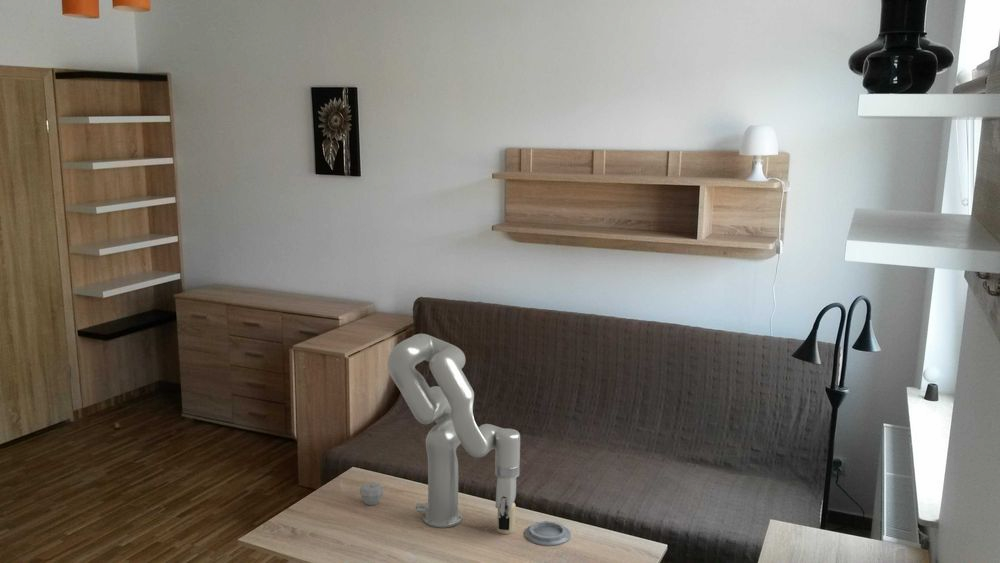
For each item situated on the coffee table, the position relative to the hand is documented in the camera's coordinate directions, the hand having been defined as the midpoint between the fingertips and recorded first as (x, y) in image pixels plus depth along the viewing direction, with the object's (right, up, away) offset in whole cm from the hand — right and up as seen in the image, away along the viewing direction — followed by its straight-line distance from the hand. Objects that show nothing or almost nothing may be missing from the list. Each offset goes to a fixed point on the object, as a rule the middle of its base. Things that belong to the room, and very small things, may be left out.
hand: (506, 522), depth 256 cm
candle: (0, -3, +1) cm, 3 cm away
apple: (-45, +1, +18) cm, 48 cm away
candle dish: (+13, -3, -2) cm, 13 cm away
